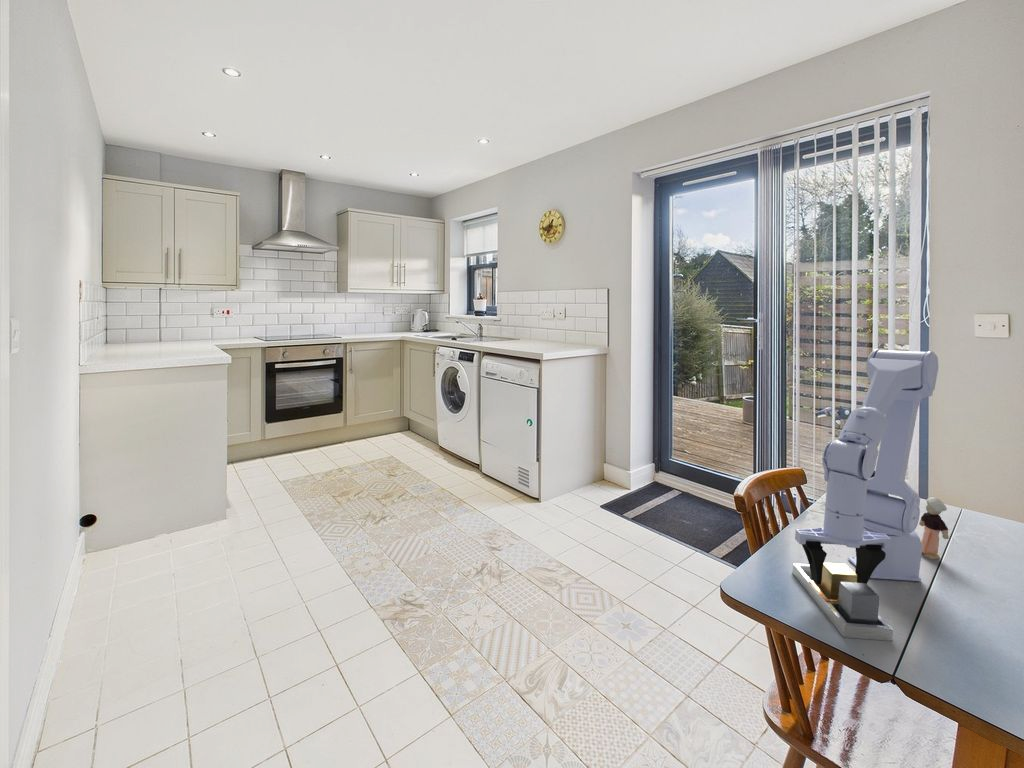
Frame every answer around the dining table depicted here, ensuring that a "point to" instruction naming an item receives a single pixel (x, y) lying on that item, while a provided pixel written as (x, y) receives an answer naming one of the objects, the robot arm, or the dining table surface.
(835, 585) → the golden block
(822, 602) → the zinc tray
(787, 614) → the dining table surface
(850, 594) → the gunmetal nut block
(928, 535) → the grandmother figurine
